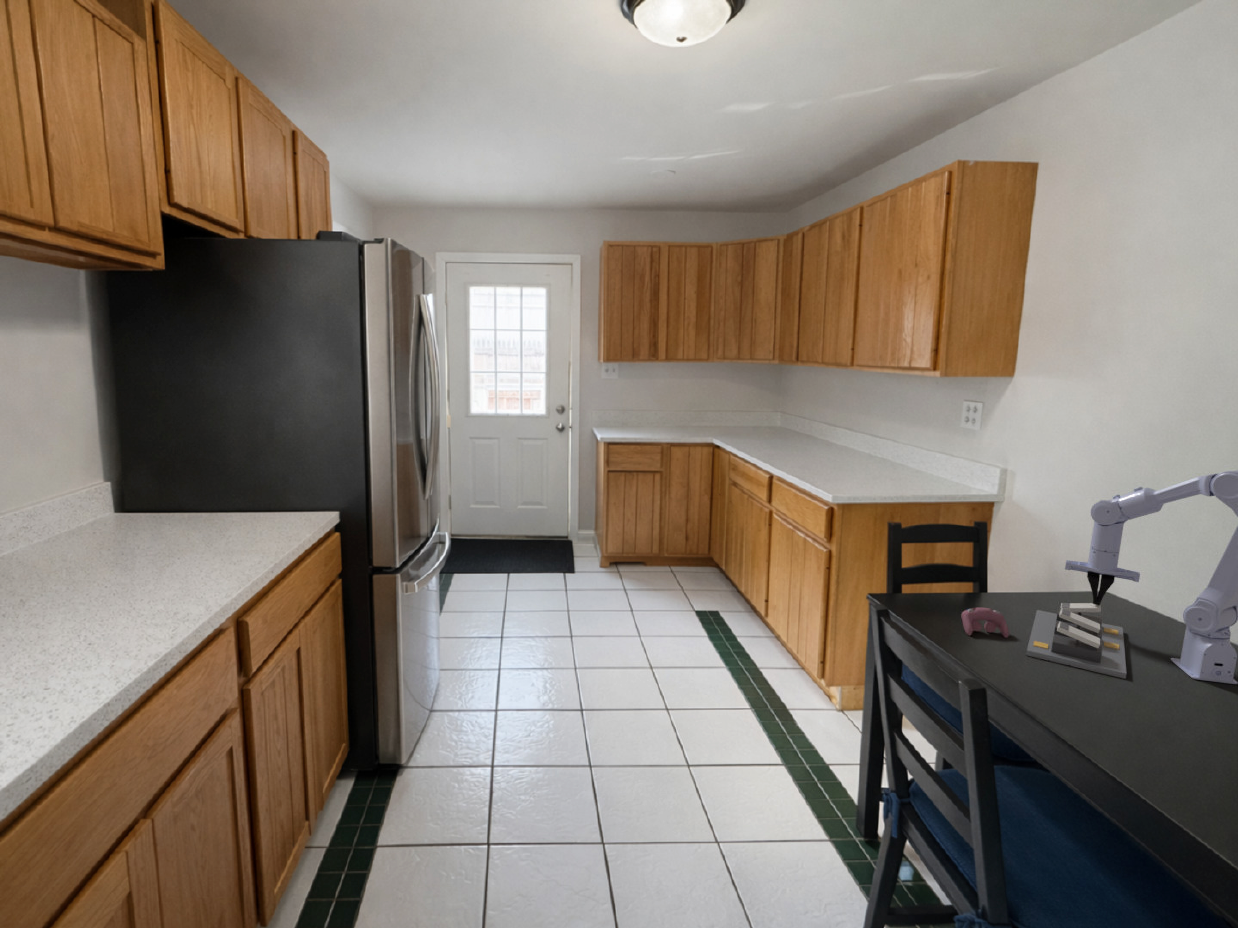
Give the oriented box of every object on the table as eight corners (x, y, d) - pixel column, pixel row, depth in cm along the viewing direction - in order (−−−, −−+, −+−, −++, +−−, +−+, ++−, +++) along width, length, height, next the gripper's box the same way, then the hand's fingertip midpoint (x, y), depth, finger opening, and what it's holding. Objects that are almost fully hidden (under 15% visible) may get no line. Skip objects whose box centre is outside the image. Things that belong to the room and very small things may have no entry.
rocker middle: (1098, 627, 159) (1100, 623, 158) (1098, 633, 155) (1100, 629, 155) (1059, 611, 163) (1061, 607, 162) (1059, 617, 159) (1061, 612, 159)
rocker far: (1100, 607, 166) (1100, 602, 166) (1100, 612, 163) (1100, 607, 163) (1061, 607, 171) (1061, 602, 171) (1061, 612, 168) (1060, 607, 168)
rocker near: (1098, 642, 151) (1100, 637, 150) (1098, 648, 147) (1100, 644, 147) (1057, 625, 155) (1059, 620, 154) (1056, 630, 151) (1059, 626, 151)
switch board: (1121, 632, 167) (1124, 613, 166) (1125, 678, 143) (1129, 657, 142) (1036, 614, 177) (1038, 597, 176) (1026, 655, 153) (1028, 635, 152)
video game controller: (1002, 638, 165) (999, 609, 167) (1011, 637, 161) (1008, 607, 163) (960, 636, 166) (957, 606, 168) (967, 635, 162) (965, 605, 164)
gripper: (1142, 551, 162) (1133, 605, 164) (1069, 540, 170) (1061, 592, 172) (1143, 558, 156) (1134, 614, 158) (1068, 546, 164) (1060, 600, 167)
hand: (1096, 603), depth 165 cm, fingers closed
